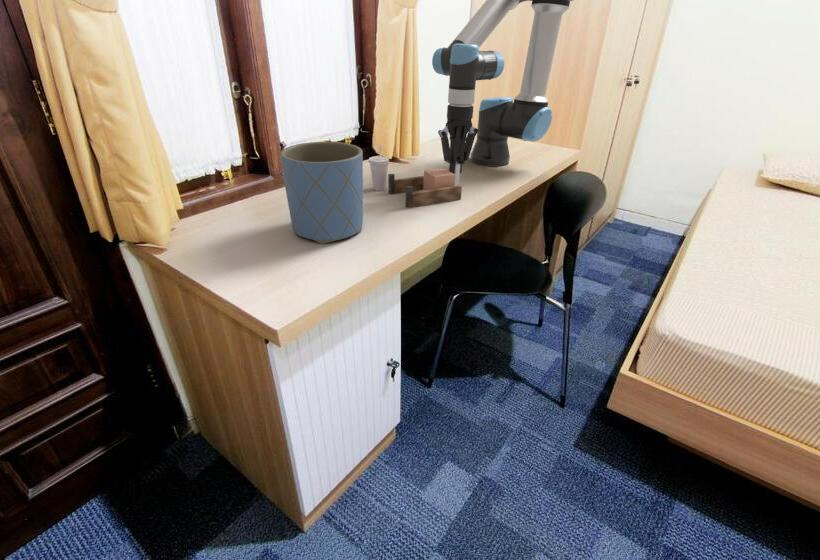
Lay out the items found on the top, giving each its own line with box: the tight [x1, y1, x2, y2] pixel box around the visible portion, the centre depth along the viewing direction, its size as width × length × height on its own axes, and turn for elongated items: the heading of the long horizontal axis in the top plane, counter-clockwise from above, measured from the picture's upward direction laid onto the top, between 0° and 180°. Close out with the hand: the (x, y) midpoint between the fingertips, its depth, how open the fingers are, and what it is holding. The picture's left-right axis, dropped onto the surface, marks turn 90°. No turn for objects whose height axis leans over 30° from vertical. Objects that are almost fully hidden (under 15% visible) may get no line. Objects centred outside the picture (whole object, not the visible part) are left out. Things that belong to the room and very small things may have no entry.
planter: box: [279, 141, 364, 245], centre depth 107 cm, size 19×19×20 cm
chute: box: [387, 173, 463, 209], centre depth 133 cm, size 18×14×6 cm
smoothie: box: [368, 144, 390, 192], centre depth 136 cm, size 6×6×14 cm
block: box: [422, 167, 455, 191], centre depth 135 cm, size 7×7×7 cm
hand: (454, 183), depth 137 cm, fingers closed
